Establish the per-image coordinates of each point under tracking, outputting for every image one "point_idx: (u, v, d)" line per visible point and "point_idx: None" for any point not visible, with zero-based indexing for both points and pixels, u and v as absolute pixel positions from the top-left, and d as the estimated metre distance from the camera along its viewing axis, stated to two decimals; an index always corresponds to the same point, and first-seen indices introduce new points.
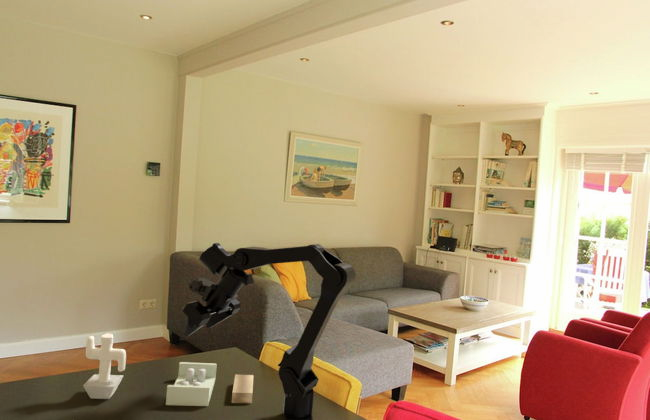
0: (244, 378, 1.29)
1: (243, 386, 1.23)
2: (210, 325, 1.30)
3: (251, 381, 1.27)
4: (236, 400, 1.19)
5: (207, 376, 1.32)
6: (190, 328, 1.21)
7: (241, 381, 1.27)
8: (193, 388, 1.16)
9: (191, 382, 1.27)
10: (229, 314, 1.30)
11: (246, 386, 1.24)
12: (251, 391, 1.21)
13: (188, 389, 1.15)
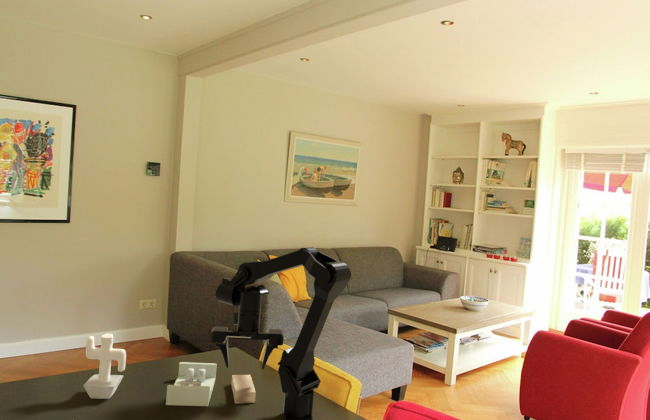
0: (242, 378, 1.29)
1: (244, 386, 1.23)
2: (262, 364, 1.25)
3: (251, 381, 1.27)
4: (240, 400, 1.19)
5: (207, 376, 1.32)
6: None
7: (241, 381, 1.27)
8: (193, 388, 1.16)
9: (191, 382, 1.27)
10: (269, 346, 1.23)
11: (247, 386, 1.24)
12: (254, 390, 1.21)
13: (188, 389, 1.15)
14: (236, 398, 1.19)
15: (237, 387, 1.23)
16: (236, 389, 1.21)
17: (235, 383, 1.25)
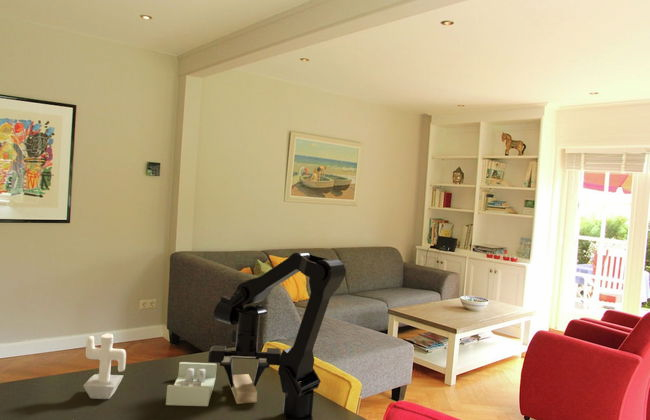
0: (240, 377, 1.29)
1: (245, 386, 1.23)
2: None
3: (250, 380, 1.28)
4: (241, 400, 1.19)
5: (207, 376, 1.32)
6: None
7: (240, 381, 1.26)
8: (193, 388, 1.16)
9: (191, 382, 1.27)
10: (260, 365, 1.23)
11: (248, 385, 1.24)
12: (255, 390, 1.22)
13: (188, 389, 1.15)
14: (238, 398, 1.19)
15: (238, 387, 1.22)
16: (237, 389, 1.21)
17: (235, 383, 1.25)
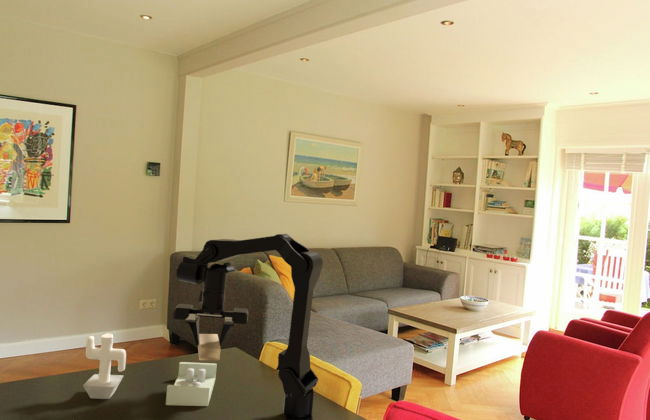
0: (208, 336, 1.28)
1: (210, 343, 1.22)
2: (219, 342, 1.24)
3: (217, 339, 1.26)
4: (204, 356, 1.18)
5: (207, 376, 1.32)
6: None
7: (207, 339, 1.25)
8: (193, 388, 1.16)
9: (191, 382, 1.27)
10: (226, 323, 1.22)
11: (213, 343, 1.23)
12: (219, 347, 1.20)
13: (188, 389, 1.15)
14: (200, 354, 1.18)
15: (202, 344, 1.21)
16: (201, 345, 1.20)
17: (201, 340, 1.24)
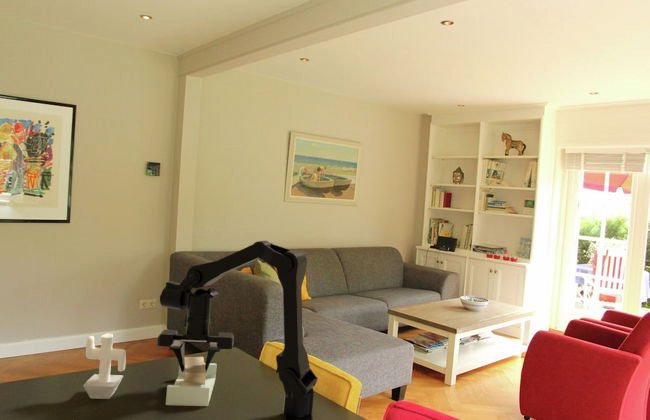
0: (194, 359, 1.27)
1: (195, 367, 1.22)
2: (205, 368, 1.24)
3: (202, 362, 1.26)
4: (189, 381, 1.18)
5: (207, 376, 1.32)
6: None
7: (192, 363, 1.25)
8: (193, 388, 1.16)
9: None
10: (211, 349, 1.22)
11: (198, 367, 1.22)
12: (204, 371, 1.20)
13: (188, 389, 1.15)
14: (185, 379, 1.18)
15: (187, 368, 1.21)
16: (186, 370, 1.19)
17: (186, 364, 1.23)
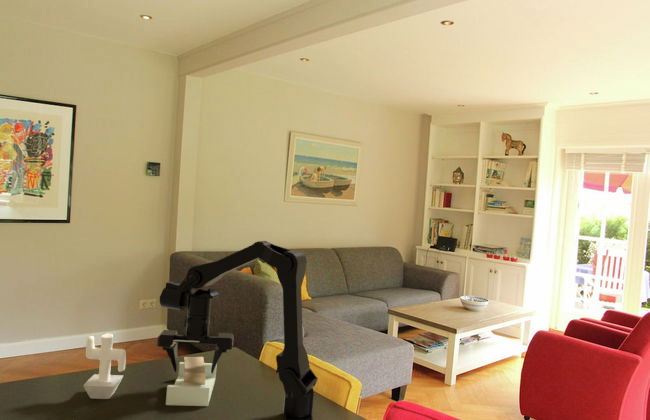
0: (194, 359, 1.27)
1: (195, 367, 1.22)
2: None
3: (202, 362, 1.26)
4: (189, 381, 1.18)
5: (207, 376, 1.32)
6: None
7: (192, 363, 1.25)
8: (193, 388, 1.16)
9: None
10: (217, 350, 1.22)
11: (198, 367, 1.22)
12: (204, 371, 1.20)
13: (188, 389, 1.15)
14: (185, 379, 1.18)
15: (187, 368, 1.21)
16: (186, 370, 1.19)
17: (186, 364, 1.23)
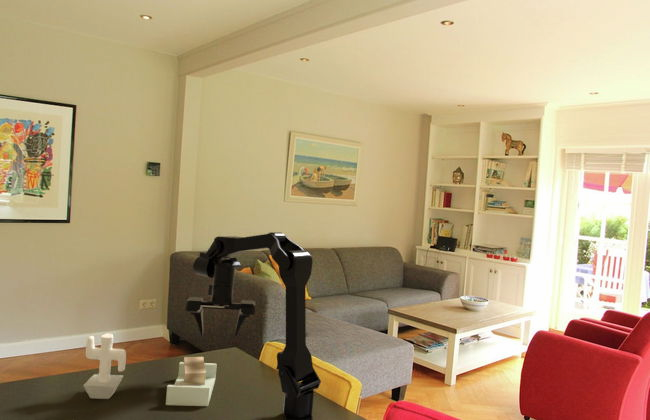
0: (194, 359, 1.27)
1: (195, 367, 1.22)
2: (235, 332, 1.33)
3: (202, 362, 1.26)
4: (189, 381, 1.18)
5: (207, 376, 1.32)
6: None
7: (192, 363, 1.25)
8: (193, 388, 1.16)
9: None
10: (241, 315, 1.31)
11: (198, 367, 1.22)
12: (204, 371, 1.20)
13: (188, 389, 1.15)
14: (185, 379, 1.18)
15: (187, 368, 1.21)
16: (186, 370, 1.19)
17: (186, 364, 1.23)
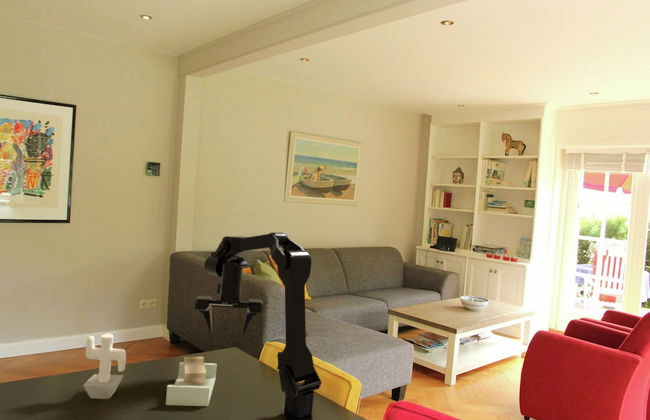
0: (194, 359, 1.27)
1: (195, 367, 1.22)
2: None
3: (202, 362, 1.26)
4: (189, 381, 1.18)
5: (207, 376, 1.32)
6: None
7: (192, 363, 1.25)
8: (193, 388, 1.16)
9: None
10: (249, 313, 1.34)
11: (198, 367, 1.22)
12: (204, 371, 1.20)
13: (188, 389, 1.15)
14: (185, 379, 1.18)
15: (187, 368, 1.21)
16: (186, 370, 1.19)
17: (186, 364, 1.23)
